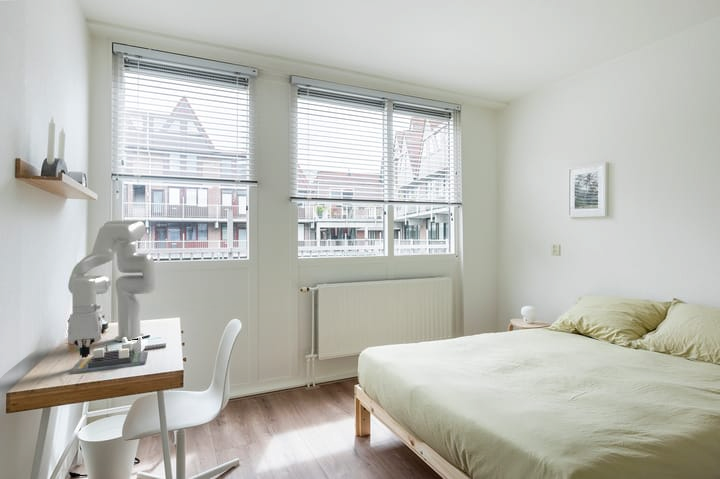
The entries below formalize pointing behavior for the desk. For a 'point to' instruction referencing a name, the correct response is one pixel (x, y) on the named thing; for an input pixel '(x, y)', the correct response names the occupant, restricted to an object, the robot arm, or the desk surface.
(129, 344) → the block
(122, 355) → the breaker handle
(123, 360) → the breaker panel
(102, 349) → the handle
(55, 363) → the desk surface
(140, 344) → the bracket
